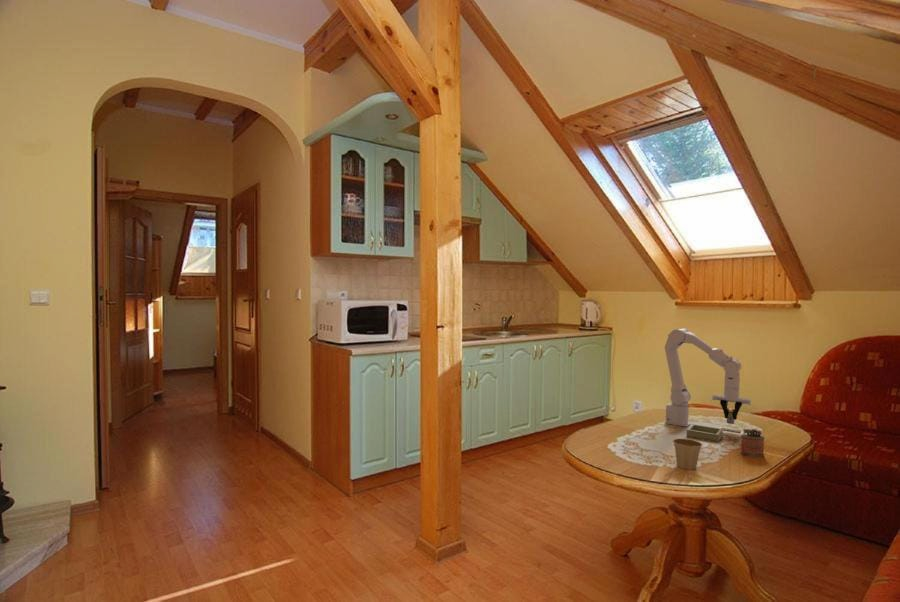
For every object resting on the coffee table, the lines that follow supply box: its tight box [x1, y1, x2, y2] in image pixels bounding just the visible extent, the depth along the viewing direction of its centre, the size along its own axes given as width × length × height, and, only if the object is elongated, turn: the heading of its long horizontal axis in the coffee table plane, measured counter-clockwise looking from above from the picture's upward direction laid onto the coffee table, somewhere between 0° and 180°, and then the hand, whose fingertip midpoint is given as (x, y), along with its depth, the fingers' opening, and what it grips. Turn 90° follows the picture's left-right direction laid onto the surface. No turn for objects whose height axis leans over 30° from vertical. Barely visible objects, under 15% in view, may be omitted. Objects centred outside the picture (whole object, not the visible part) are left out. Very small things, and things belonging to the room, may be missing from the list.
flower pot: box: [672, 438, 703, 471], centre depth 178 cm, size 9×9×9 cm
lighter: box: [740, 428, 766, 458], centre depth 192 cm, size 8×3×10 cm, turn 84°
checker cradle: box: [718, 426, 745, 439], centre depth 223 cm, size 10×10×1 cm
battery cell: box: [726, 407, 735, 425], centre depth 223 cm, size 3×3×6 cm
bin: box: [686, 423, 724, 443], centre depth 217 cm, size 12×12×3 cm
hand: (730, 418), depth 223 cm, fingers closed on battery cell, 3 cm apart
